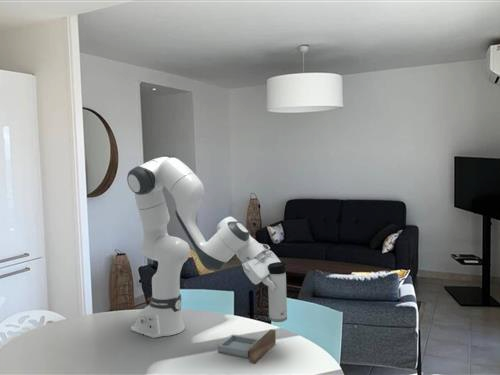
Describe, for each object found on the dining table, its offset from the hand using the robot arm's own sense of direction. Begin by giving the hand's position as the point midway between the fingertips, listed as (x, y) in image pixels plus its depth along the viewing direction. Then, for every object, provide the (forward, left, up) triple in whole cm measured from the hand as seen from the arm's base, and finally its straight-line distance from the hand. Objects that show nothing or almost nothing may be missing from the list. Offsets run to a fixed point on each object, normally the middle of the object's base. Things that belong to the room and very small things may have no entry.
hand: (279, 285), depth 153 cm
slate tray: (-16, -1, -25) cm, 30 cm away
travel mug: (0, 0, -12) cm, 12 cm away
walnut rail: (-7, 0, -25) cm, 26 cm away
